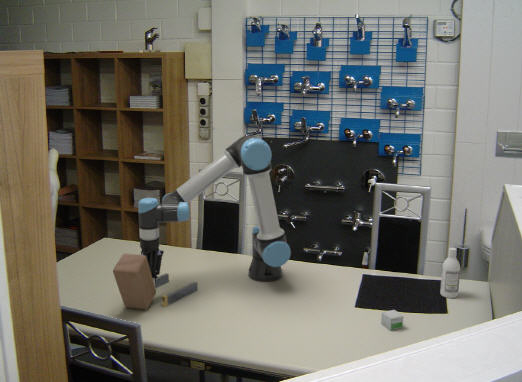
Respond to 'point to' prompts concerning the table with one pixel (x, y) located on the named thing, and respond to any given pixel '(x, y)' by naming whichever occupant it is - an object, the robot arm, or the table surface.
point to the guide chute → (176, 294)
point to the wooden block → (134, 281)
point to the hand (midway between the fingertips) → (151, 293)
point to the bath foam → (450, 275)
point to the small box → (392, 320)
